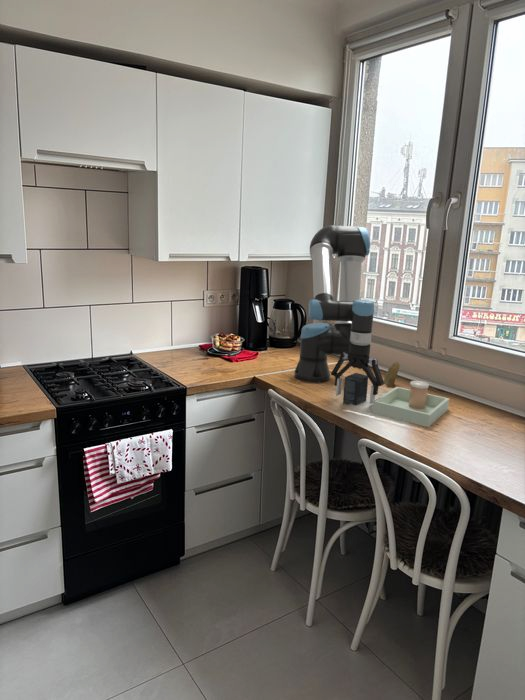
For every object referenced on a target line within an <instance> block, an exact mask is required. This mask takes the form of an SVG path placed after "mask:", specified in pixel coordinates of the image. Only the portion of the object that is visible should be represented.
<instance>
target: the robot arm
mask: <svg viewBox="0 0 525 700" xmlns="http://www.w3.org/2000/svg"><path fill="white" fill-rule="evenodd" d="M370 252H371V237H370V232H369V230H368V229H367V228H366V227H364V226H357V225H335V224H332V225H331V224H329V225H326V226H324V227H322V228H321V229H320V230H318V231H317V232H315V234H314V236H313V237H312V239H311V240H310V244H309V255H310V257H311V258H312V284H313V285H312V286H313V299H310V300H309V302H308V317H309V319H311V320H315V321H333V322H334V321H335V322H334V325H333V327H331V325H330V324H329V323H327V322H312V323H308V324H306V325H305V324H304V325H303V326H302V328H301V334H300V347H299V358H298V362H297V363H296V364H297V365H296V367H295V369H294V374H293V375H294V376H293V377H294V378H295V379H296V380H297V381H301V382H303V383H312V384H314V383H315V384H319V383H326V382H328V381H330V379H331V376H333V377H334V386H336V391H335V395H336V396H339V395H341V394H342V387H343V377H342V375H343V374H345V372H347V371H348V370H349V369H350V368H351V367H352V368H353V369H355V368H357V369H358V370H361V369H362V370H363V372H365V375H367V376H368V380H369V381H370V382H371V384H372V385H371V386H370V395H369V404H370V405H373V401H374V400H376V396H377V395H378V393H379V387H381V386H383V385H385V384H384V378H383V376H382V373H381V370H380V368H379V365H378V363H379V362H378V358H370V352H371V343H372V331H373V322H374V314H375V302H373V301H372V300H369V299H361V280H362V279H361V278H362V264H363V262H364V261H365V260H366V256H369V255H370ZM333 255H336V256H337V258H336V259H337V260H338V261H339V262H340V271H339V272H340V274H339V275H340V276H339V294H338V296H339V297H338V300H335V299H334V287H333V285H334V284H333V268H332V267H333V266H332V256H333ZM328 356H339V359H338V361H336V364H335V366H334V367H333V369H332V371H331V372H330V368H329V364H328ZM345 360H348V363H346V364H345V366H344V367H343V368H342V369H341V367H342V365H343V364H344V362H345ZM369 363H370V365H371V367H370V365H369ZM371 368H372V370H371ZM340 369H341V370H340Z"/></svg>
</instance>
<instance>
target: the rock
mask: <svg viewBox="0 0 525 700" xmlns="http://www.w3.org/2000/svg"><path fill="white" fill-rule="evenodd" d="M400 365H401V364H400V363H399V362H398V361H395V362H393V363H392V364H391V365H390V367H389V368H388V370H387V371H386V372H385V374H384V378H383V381H384V384H383V385H385V386H386V388H390V389H391V388H392V389H394V384H395V382H396V379H397V377H398V372H399V369H400Z"/></svg>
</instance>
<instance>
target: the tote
mask: <svg viewBox="0 0 525 700" xmlns="http://www.w3.org/2000/svg"><path fill="white" fill-rule="evenodd" d="M409 397H410V388H409V389H408V388H403V387H399V386H395V387H393V388H392V389H391V390H388V391H387V392H386V393H384V394H382V395H381V396H379V397H378V398H375V400H374V401H373V403H372V409H371V412H372V414H376V415H379V416H384V417H388V418H391V419H395V420H399V421H403V422H407V423H410V424H414V425H418V426H423V427H425V428H426V427H428V428H429V427H430V426H431V425H433V424H434V423H435V422H436V421H437V420H438V419H439V418H440V417H441V416H443V415H444V414H445V413H447V411H448V410H449V406H450V398H449V397H444V396H440V395H434V394H430V393H427V399H426V407H425V408H424V409H414V408H411V407H409Z"/></svg>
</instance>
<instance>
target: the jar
mask: <svg viewBox="0 0 525 700" xmlns="http://www.w3.org/2000/svg"><path fill="white" fill-rule="evenodd" d="M409 385H410V388H409V390H410V397H409V407H411V408H414V409H424V408H425V407H426V399H427V394H428V390H429V389H428V388H429V387H430V384H429V383H428V382H427V381H422V380H411V381H410V382H409Z"/></svg>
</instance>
